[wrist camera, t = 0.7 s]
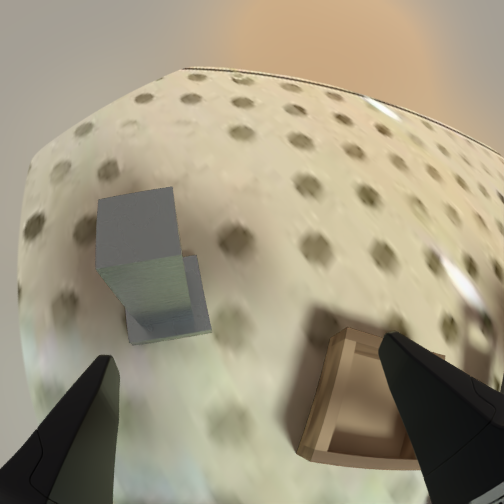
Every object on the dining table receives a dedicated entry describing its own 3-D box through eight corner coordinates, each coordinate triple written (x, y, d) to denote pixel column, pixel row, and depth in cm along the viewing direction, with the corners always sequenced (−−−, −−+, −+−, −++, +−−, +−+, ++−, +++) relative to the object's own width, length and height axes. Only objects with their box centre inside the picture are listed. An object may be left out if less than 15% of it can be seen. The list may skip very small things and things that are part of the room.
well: (399, 465, 19) (422, 470, 16) (296, 453, 19) (310, 461, 16) (421, 363, 24) (445, 355, 21) (330, 338, 25) (347, 326, 22)
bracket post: (211, 332, 24) (211, 273, 14) (132, 345, 22) (74, 295, 12) (197, 261, 27) (191, 168, 17) (125, 272, 26) (81, 188, 15)
